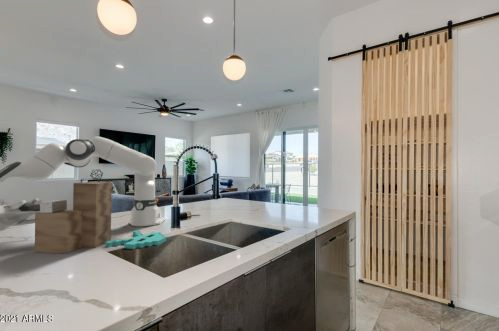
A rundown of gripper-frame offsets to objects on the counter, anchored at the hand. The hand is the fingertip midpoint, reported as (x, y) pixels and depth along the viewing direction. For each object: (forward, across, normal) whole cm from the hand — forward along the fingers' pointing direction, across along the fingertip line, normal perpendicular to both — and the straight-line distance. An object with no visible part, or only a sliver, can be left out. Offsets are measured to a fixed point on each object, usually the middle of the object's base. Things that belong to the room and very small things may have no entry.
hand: (31, 200), depth 104 cm
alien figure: (+23, +16, +36) cm, 46 cm away
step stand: (+3, +6, +24) cm, 25 cm away
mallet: (+2, 0, +6) cm, 6 cm away
